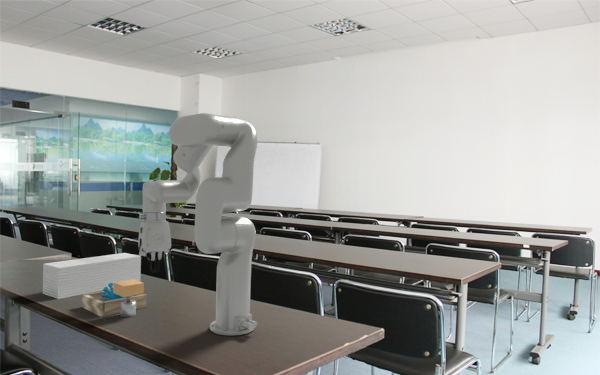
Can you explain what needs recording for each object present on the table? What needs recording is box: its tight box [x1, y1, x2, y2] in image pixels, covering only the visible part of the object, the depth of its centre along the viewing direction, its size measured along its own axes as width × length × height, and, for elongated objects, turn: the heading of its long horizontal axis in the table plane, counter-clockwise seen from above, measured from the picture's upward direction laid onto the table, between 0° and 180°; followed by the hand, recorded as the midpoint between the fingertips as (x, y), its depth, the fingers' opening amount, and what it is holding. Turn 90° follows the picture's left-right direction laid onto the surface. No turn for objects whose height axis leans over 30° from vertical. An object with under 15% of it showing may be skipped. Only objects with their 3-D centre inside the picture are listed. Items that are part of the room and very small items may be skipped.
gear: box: [102, 281, 137, 301], centre depth 146 cm, size 11×6×10 cm
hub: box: [113, 279, 145, 297], centre depth 136 cm, size 6×6×3 cm
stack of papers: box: [42, 252, 142, 300], centre depth 168 cm, size 32×11×11 cm, turn 145°
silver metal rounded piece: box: [119, 296, 137, 318], centre depth 137 cm, size 4×4×6 cm
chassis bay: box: [81, 289, 148, 318], centre depth 144 cm, size 13×15×4 cm
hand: (154, 271), depth 153 cm, fingers closed
